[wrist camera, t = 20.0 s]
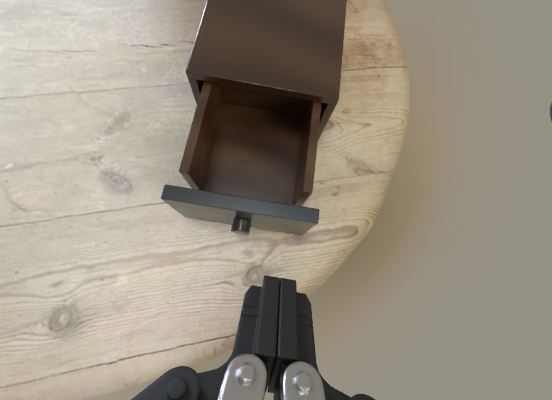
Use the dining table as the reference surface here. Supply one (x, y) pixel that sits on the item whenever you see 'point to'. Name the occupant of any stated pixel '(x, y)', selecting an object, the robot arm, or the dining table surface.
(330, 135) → the dining table surface
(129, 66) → the dining table surface
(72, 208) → the dining table surface
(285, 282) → the robot arm
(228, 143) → the drawer
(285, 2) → the cabinet
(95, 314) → the dining table surface
